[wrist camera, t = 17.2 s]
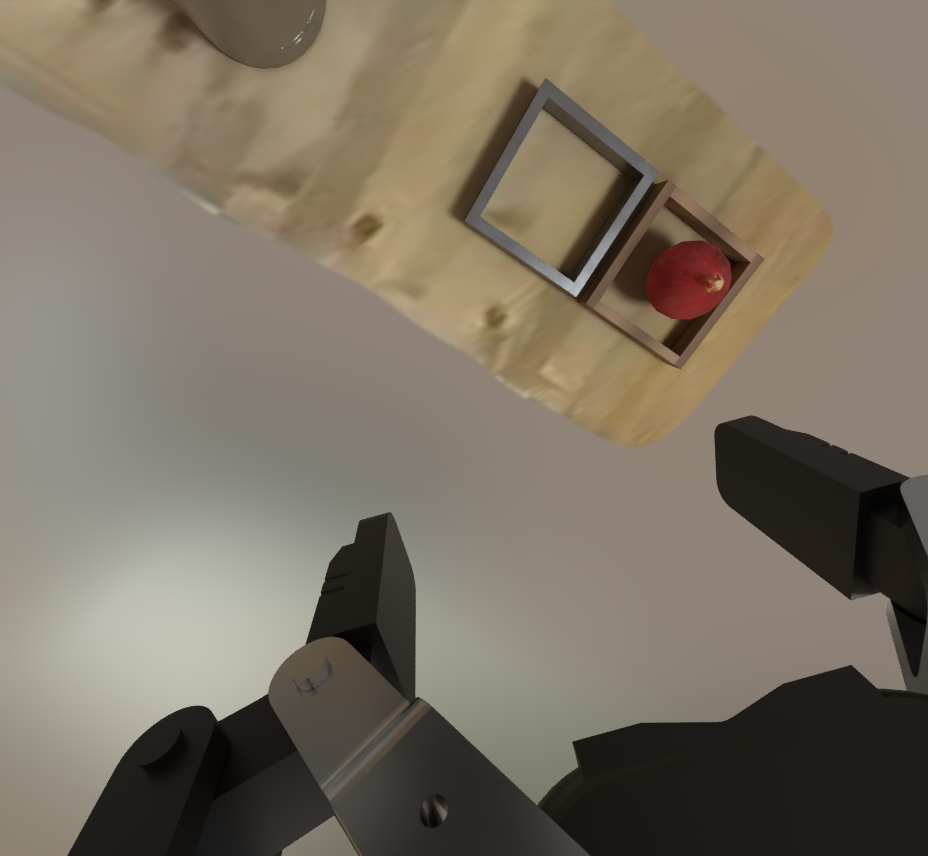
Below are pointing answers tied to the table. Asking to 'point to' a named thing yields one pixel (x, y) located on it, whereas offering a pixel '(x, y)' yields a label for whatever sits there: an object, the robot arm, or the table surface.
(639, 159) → the grey frame
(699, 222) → the walnut frame
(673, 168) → the table surface
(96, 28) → the table surface
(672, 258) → the pomegranate
